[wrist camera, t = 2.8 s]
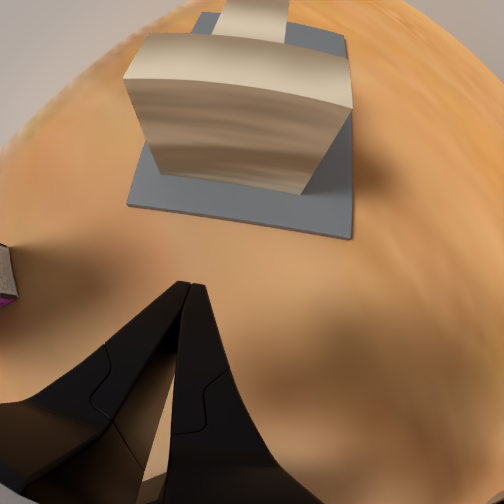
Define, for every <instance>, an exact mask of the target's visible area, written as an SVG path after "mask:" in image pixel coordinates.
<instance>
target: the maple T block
mask: <svg viewBox="0 0 504 504" xmlns="http://www.w3.org/2000/svg"><path fill="white" fill-rule="evenodd" d="M288 7H289V0H227V1H226V4H225V6H224V8H223V10H222V12H221V14H220V16H219V19H218V21H217V23H216V25H215V27H214V30H213V32H212V34H193V33H149V34H148V36H147V37H146V39H145V40H144V42H143V44H142V45H141V47H140V49H139V50H138V52H137V54H136V55H135V57H134V59H133V61H132V62H131V64H130V66H129V68H128V70H127V71H126V73H125V75H124V77H123V81H124V84H125V87H126V89H127V92H128V95H129V97H130V100H131V102H132V105H133V108H134V110H135V113H136V115H137V118H138V121H139V123H140V126H141V128H142V131H143V133H144V136H145V138H146V141H147V143H148V146H149V148H150V150H151V153H152V155H153V158H154V160H155V162H156V165H157V167H158V170H159V172H160V174H161V175H169V176H177V177H185V178H193V179H201V180H209V181H216V182H223V183H230V184H236V185H243V186H249V187H255V188H262V189H268V190H273V191H279V192H285V193H290V194H296V195H300V194H301V193H302V191H303V189H304V188H305V186H306V185H307V183H308V181H309V180H310V178H311V176H312V175H313V173H314V172H315V170H316V168H317V167H318V165H319V163H320V162H321V160H322V159H323V157H324V155H325V154H326V152H327V150H328V149H329V147H330V145H331V144H332V142H333V141H334V139H335V137H336V136H337V134H338V132H339V131H340V129H341V127H342V126H343V124H344V122H345V121H346V119H347V118H348V116H349V114H350V113H351V111H352V109H353V103H352V90H351V78H350V68H349V59H346V58H342V57H339V56H335V55H332V54H328V53H324V52H320V51H316V50H312V49H307V48H303V47H298V46H293V45H288V44H284V38H285V30H286V22H287V15H288Z"/></svg>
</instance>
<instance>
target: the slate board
mask: <svg viewBox="0 0 504 504" xmlns="http://www.w3.org/2000/svg"><path fill="white" fill-rule="evenodd" d="M220 14H221V13H209V12H202V13H201V15H200V17H199V19H198V20H197V22H196V24H195V26H194V28H193V30H192V32H191V33H193V34H212V32H213V30H214V27H215V25H216V23H217V21H218V19H219V16H220ZM284 44H288V45H293V46H298V47H303V48H307V49H312V50H316V51H320V52H324V53H328V54H332V55H335V56H339V57H342V58H346V50H345V42H344V35H341V34H337V33H334V32H330V31H326V30H322V29H318V28H314V27H310V26H305V25H301V24H296V23H291V22H286V30H285V38H284ZM126 204H127V205H128V206H129V207H136V208H144V209H151V210H159V211H166V212H173V213H180V214H187V215H194V216H201V217H208V218H215V219H222V220H228V221H235V222H241V223H248V224H254V225H260V226H267V227H273V228H279V229H285V230H291V231H297V232H303V233H309V234H315V235H320V236H326V237H332V238H337V239H343V240H349V239H350V238H351V222H352V130H351V113H350V114H349V116H348V118H347V119H346V121H345V122H344V124H343V126H342V127H341V129H340V131H339V132H338V134H337V136H336V137H335V139H334V141H333V142H332V144H331V145H330V147H329V149H328V150H327V152H326V154H325V155H324V157H323V159H322V160H321V162H320V163H319V165H318V167H317V168H316V170H315V172H314V173H313V175H312V176H311V178H310V180H309V181H308V183H307V185H306V186H305V188H304V189H303V191H302V193H301V194H300V195H296V194H290V193H285V192H279V191H273V190H268V189H262V188H255V187H249V186H243V185H236V184H230V183H223V182H216V181H209V180H201V179H193V178H185V177H177V176H169V175H161V174H160V172H159V170H158V167H157V165H156V162H155V160H154V158H153V155H152V153H151V150H150V148H149V146H148V143H147V141H145V143H144V146H143V149H142V152H141V155H140V159H139V162H138V165H137V168H136V171H135V175H134V178H133V181H132V185H131V188H130V192H129V195H128V199H127V203H126Z"/></svg>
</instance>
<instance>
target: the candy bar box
mask: <svg viewBox="0 0 504 504" xmlns="http://www.w3.org/2000/svg"><path fill="white" fill-rule="evenodd" d="M18 298H19V295H18V290H17V285H16V281H15V278H14V274H13V269H12V263H11V257H10V252H9V247H8V246H6V245H3V244H1V243H0V308H2V307H4V306H5V305H7V304H9V303H10V302H12V301H14V300H16V299H18Z"/></svg>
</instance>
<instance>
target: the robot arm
mask: <svg viewBox="0 0 504 504" xmlns="http://www.w3.org/2000/svg"><path fill="white" fill-rule="evenodd" d="M174 374H175V378H174V389H173V402H172V417H171V434H170V435H171V437H170V450H169V460H168V467H167V473H164V474H162V475H159V476H157V477H154V478H151V479H149V480H146V481H143V482H142V479H143V475H144V471H145V468H146V465H147V461H148V458H149V454H150V451H151V448H152V444H153V441H154V438H155V434H156V431H157V428H158V424H159V421H160V418H161V415H162V412H163V408H164V405H165V402H166V399H167V396H168V392H169V389H170V386H171V383H172V380H173V377H174ZM141 482H142V483H141ZM0 504H324V503H323V502H322V501H321V500H319V499H318V498H317V497H316V496H314V495H313V494H312V493H311V492H309V491H308V490H307V489H306V488H305V487H303V486H302V485H301V484H300V483H299V482H298V481H296V480H295V479H294V478H293V477H292V476H291V475H289V474H288V473H287V472H286V471H285V470H284V469H283V468H282V467H281V466H280V465H279V464H278V462H277V461H276V460H275V458H274V457H273V456H272V454H271V453H270V451H269V449H268V448H267V446H266V444H265V442H264V441H263V439H262V437H261V435H260V433H259V432H258V430H257V428H256V426H255V424H254V422H253V421H252V419H251V417H250V415H249V413H248V411H247V409H246V407H245V405H244V403H243V401H242V399H241V396H240V394H239V391H238V389H237V386H236V383H235V381H234V378H233V375H232V372H231V370H230V366H229V363H228V360H227V356H226V353H225V350H224V347H223V343H222V340H221V337H220V334H219V330H218V327H217V324H216V320H215V317H214V313H213V310H212V306H211V303H210V299H209V296H208V292H207V289H206V286H205V285H203V284H197V283H192V284H191V283H190V282H185V281H177V282H176V283H174V284H173V285H172V286H171V287H170V288H168V289H167V290H166V291H165V292H164V293H162V294H161V295H160V296H159V297H158V298H156V299H155V300H154V301H153V302H152V303H151V304H149V305H148V306H147V307H146V308H145V309H143V310H142V311H141V312H140V313H139V314H138V315H136V316H135V317H134V318H133V319H132V320H131V321H129V322H128V323H127V324H126V325H125V326H124V327H122V328H121V329H120V330H119V331H118V332H117V333H115V334H114V335H113V336H112V337H111V338H110V339H109V340H107V341H106V342H105V344H103V345H101V346H100V347H99V348H98V349H97V350H96V351H95V352H93V353H92V354H91V355H90V356H89V357H87V358H86V359H85V360H84V361H82V362H81V363H80V364H78V365H77V366H76V367H74V368H73V369H72V370H70V371H69V372H67V373H66V374H65V375H63V376H62V377H60V378H59V379H57V380H56V381H54V382H53V383H52V384H50V385H49V386H47V387H46V388H44V389H43V390H41V391H40V392H39V393H37V394H35V395H34V396H32V397H30V398H28V399H25V400H23V401H19V402H12V403H1V404H0ZM493 504H504V498H503V499H501V500H499V501H497V502H495V503H493Z"/></svg>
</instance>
